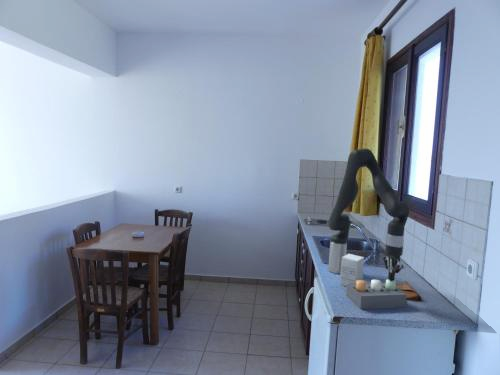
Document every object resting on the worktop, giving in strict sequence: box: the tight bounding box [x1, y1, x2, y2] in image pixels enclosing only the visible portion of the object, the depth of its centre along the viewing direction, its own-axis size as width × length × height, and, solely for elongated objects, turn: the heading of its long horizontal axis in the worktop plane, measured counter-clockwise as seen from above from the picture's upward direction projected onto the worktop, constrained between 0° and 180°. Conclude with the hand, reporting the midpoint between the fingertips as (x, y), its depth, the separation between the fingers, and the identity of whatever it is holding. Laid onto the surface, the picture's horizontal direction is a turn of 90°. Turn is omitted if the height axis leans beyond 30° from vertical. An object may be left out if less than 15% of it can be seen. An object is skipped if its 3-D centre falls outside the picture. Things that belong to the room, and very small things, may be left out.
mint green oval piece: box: [385, 278, 397, 291], centre depth 163 cm, size 5×5×6 cm
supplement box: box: [339, 253, 365, 288], centre depth 181 cm, size 9×9×15 cm
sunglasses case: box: [396, 280, 422, 302], centre depth 173 cm, size 18×7×7 cm
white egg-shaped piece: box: [370, 279, 383, 291], centre depth 162 cm, size 5×5×6 cm
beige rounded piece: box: [356, 279, 368, 292], centre depth 160 cm, size 5×5×6 cm
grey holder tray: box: [345, 282, 407, 310], centre depth 162 cm, size 14×22×6 cm, turn 100°
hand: (391, 280), depth 162 cm, fingers closed
